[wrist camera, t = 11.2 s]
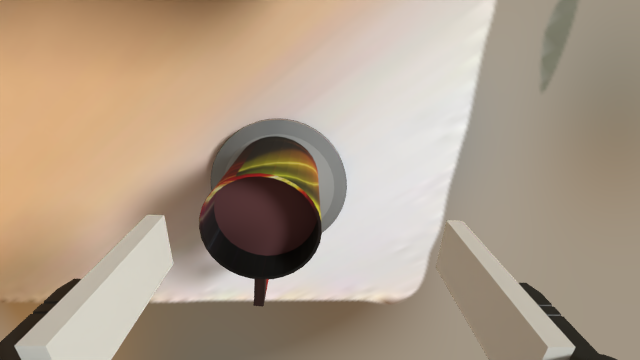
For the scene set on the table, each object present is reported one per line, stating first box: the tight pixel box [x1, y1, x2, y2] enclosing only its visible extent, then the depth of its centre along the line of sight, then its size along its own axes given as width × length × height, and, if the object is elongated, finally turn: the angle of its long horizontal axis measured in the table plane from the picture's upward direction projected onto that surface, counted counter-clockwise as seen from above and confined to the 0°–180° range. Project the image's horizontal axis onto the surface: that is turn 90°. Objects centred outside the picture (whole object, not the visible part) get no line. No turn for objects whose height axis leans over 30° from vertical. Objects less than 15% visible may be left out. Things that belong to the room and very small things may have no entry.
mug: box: [199, 136, 322, 306], centre depth 30 cm, size 10×14×12 cm
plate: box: [211, 119, 347, 232], centre depth 36 cm, size 16×16×1 cm
